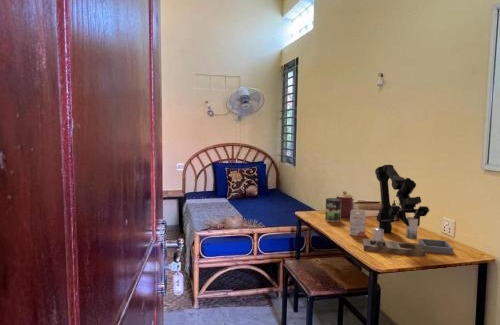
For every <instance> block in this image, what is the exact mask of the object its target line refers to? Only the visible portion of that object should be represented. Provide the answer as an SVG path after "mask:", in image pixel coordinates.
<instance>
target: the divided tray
mask: <svg viewBox="0 0 500 325" xmlns="http://www.w3.org/2000/svg"><path fill="white" fill-rule="evenodd" d="M362 241H363V242H362V245H363V246H362V248H363V251H366V252H376V253H386V254H387V253H388V254H397V255H406V256H417V257H426V252H425V251H424V249H423V247H422V246H421V244H419V243H415V242H406V241H405V242H401V241H393V240H383V246H377V245H373V238H372V239H369V238H363V239H362Z"/></svg>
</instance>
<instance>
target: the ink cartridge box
mask: <svg viewBox="0 0 500 325" xmlns="http://www.w3.org/2000/svg"><path fill="white" fill-rule="evenodd" d="M366 218H367V217H366V211H365V210H355V209H353V210H351V215H350V217H349V236H356V237H365V236H366Z"/></svg>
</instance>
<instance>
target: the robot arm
mask: <svg viewBox="0 0 500 325" xmlns="http://www.w3.org/2000/svg"><path fill="white" fill-rule="evenodd" d="M374 173H375V177H376V179H377V180H378V182H379V190H380V201H381V202H380V203H381V206H380V208H379V209H378V214H377V215H376V221H377V222H378V228H382V229H384V234H391V233H392V230H393V229H392V228H393V227H392V226H393V225H392V223H394V222H395V218H398V219H399V220H400V221H402V223H404V225H406V227H407V226H409V224H408V220H407V215H406V214H414V216H413V217H414V218H418V227H419V226H420V225H421V217H426V216H427V215H428V213H429V212H430V209H429V207H428V206H427V205H425V206H422V205H420V206H419V207H418V208H416V206H417V205H419V204H421V203H422V198H421V196H415V197H413V196H412V197H411V196H410V195H411V194H413V192H414V190H415V189H416V187H417V184H416V182H415V181H414V180H413V179H411V178H410V177H406V178H405V177H403V176H401V175H400V174H399V173H398V171H397V170H396V168H394V165H392V164H384V165H382V166H378V167H377V168H375V172H374ZM389 180H391V186H392V189H393V190H395V191H396V190H397V192H396V195H395V197H397V198H398V201H399V203H398V205H397V206H396V205H391V200H390V190H389V188H390V187H389Z"/></svg>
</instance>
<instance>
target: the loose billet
mask: <svg viewBox="0 0 500 325" xmlns="http://www.w3.org/2000/svg"><path fill="white" fill-rule="evenodd" d="M406 218H407V220H408V224H409V226H407V225H406V227H405V228H406V231H405V238H406V239H408V240H417V239H418V229H419V226H418V218H414V216H408V217H407V216H406Z"/></svg>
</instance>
